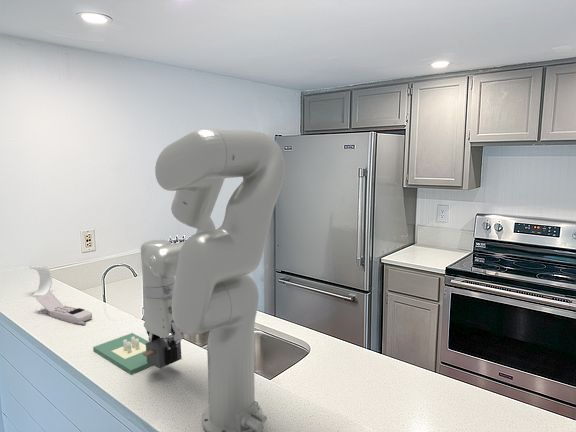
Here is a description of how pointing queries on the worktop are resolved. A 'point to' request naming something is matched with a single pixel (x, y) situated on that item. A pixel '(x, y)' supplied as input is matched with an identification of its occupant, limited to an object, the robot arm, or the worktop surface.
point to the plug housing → (158, 352)
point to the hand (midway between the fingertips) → (164, 358)
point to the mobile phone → (64, 310)
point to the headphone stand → (43, 281)
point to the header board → (125, 352)
